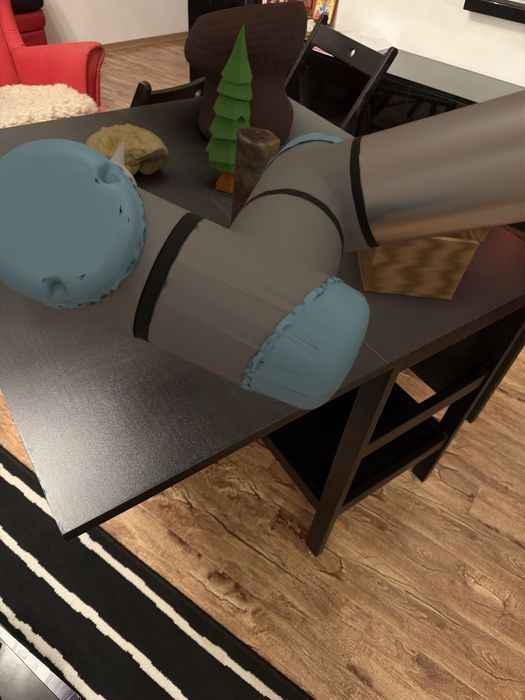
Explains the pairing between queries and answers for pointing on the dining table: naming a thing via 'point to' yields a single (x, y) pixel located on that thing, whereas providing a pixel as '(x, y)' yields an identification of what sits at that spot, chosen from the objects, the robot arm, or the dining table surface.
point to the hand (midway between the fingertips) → (173, 293)
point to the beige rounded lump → (131, 147)
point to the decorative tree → (230, 113)
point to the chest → (418, 265)
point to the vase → (250, 59)
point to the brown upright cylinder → (250, 162)
